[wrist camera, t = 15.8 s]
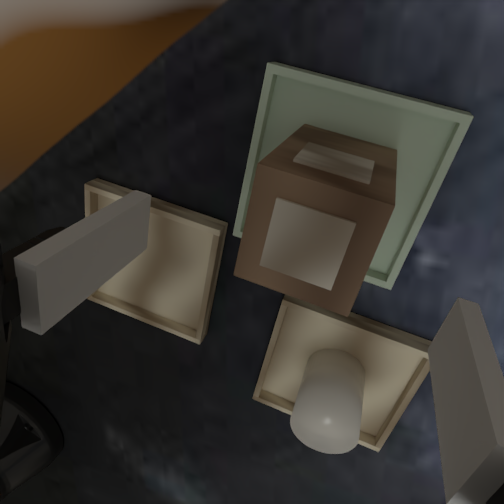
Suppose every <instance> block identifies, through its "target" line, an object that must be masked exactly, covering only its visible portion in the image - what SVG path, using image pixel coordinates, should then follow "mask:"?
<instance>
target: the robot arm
mask: <svg viewBox="0 0 504 504" xmlns="http://www.w3.org/2000/svg"><path fill="white" fill-rule="evenodd" d="M150 204H151V195H150V194H147V193H144V192H141V191H138V190H135V191H133V192H131V193H129V194H127V195H126V196H124V197H122V198H120V199H118V200H117V201H115V202H113V203H111V204H109V205H108V206H106V207H104V208H102V209H100V210H99V211H97V212H95V213H93V214H91V215H90V216H88V217H86V218H84V219H82V220H81V221H79V222H77V223H75V224H73V225H72V226H70V227H68V228H64V227H58V228H54V229H50V230H47V231H45V232H43V233H41V234H39V235H37V236H36V238H35V237H34V238H32V239H30V240H28V241H27V242H24V243H22V244H20V245H18V246H17V247H15V248H13V249H11V250H9V251H7V252H5V253H3V254H2V252H1V245H0V502H1V501H2V500H3V499H4V498H5V497H6V496H7V495H8V494H9V493H11V492H12V491H13V490H15V489H16V488H18V487H19V486H21V485H22V484H23V483H25V482H26V481H28V480H29V479H31V478H32V477H33V476H35V475H36V474H38V473H39V472H40V471H42V470H43V469H45V468H46V467H47V466H49V465H50V464H51V463H52V461H53V460H54V459H55V458H56V457H57V455H58V454H59V453H60V452H61V450H62V448H63V437H62V433H61V431H60V429H59V427H58V425H57V423H56V421H55V420H54V418H53V417H52V416H51V415H50V413H49V412H48V411H47V410H46V409H45V408H44V407H43V406H42V405H41V404H40V403H39V402H38V401H37V400H36V399H35V398H33V397H32V396H31V395H30V394H28V393H27V392H25V391H24V390H22V389H21V388H19V387H17V386H15V385H13V384H11V383H9V382H6V374H7V365H8V357H9V348H10V339H11V330H12V326H11V320H12V319H13V318H15V317H16V316H17V315H19V314H20V315H21V324H22V327H23V328H25V329H28V330H30V331H32V332H35V333H37V334H40V335H42V334H44V333H45V332H46V331H47V330H49V329H50V328H51V327H52V326H53V325H55V324H56V323H57V322H58V321H59V320H61V319H62V318H63V317H64V316H66V315H67V314H68V313H69V312H70V311H72V310H73V309H74V308H75V307H77V306H78V305H79V304H80V303H81V302H83V301H84V300H85V299H86V298H87V297H89V296H90V295H91V294H92V293H94V292H95V291H96V290H97V289H98V288H100V287H101V286H102V285H103V284H104V283H106V282H107V281H108V280H109V279H111V278H112V277H113V276H114V275H115V274H117V273H118V272H119V271H120V270H121V269H123V268H124V267H125V266H126V265H128V264H129V263H130V262H131V261H132V260H134V259H135V258H136V257H137V256H139V255H140V254H141V253H142V252H143V251H145V250H146V249H147V241H148V229H149V216H150ZM428 357H429V365H430V373H431V382H432V390H433V398H434V406H435V415H436V423H437V431H438V439H439V448H440V456H441V464H442V473H443V481H444V489H445V497H446V504H504V377H503V374H502V371H501V368H500V365H499V362H498V359H497V356H496V353H495V350H494V347H493V345H492V342H491V339H490V336H489V333H488V330H487V327H486V324H485V321H484V318H483V315H482V312H481V309H480V306H479V304H477V303H474V302H471V301H468V300H465V299H462V298H459V297H458V298H457V300H456V302H455V303H454V305H453V307H452V308H451V310H450V312H449V314H448V315H447V317H446V319H445V320H444V322H443V324H442V325H441V327H440V329H439V331H438V332H437V334H436V336H435V337H434V339H433V341H432V342H431V344H430V346H429V348H428Z"/></svg>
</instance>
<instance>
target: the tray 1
mask: <svg viewBox="0 0 504 504" xmlns="http://www.w3.org/2000/svg"><path fill="white" fill-rule="evenodd" d="M133 191H134V190H131V189H128V188H125V187H122V186H119V185H116V184H113V183H110V182H107V181H104V180H102V179H99V178H96V179H94V180H92V181H89V182H87V183H85V218H86V217H88V216H90V215H91V214H93V213H95V212H97V211H99V210H100V209H102V208H104V207H106V206H108V205H109V204H111V203H113V202H115V201H117V200H118V199H120V198H122V197H124V196H126V195H127V194H129V193H131V192H133ZM227 226H228V223H227V222H224V221H221V220H218V219H215V218H212V217H210V216H207V215H204V214H201V213H198V212H195V211H192V210H189V209H186V208H183V207H180V206H177V205H174V204H172V203H169V202H166V201H163V200H160V199H157V198H154V197H151V204H150V216H149V229H148V241H147V249H146V250H145V251H143V252H142V253H141V254H140V255H139V256H137V257H136V258H135V259H134V260H132V261H131V262H130V263H129V264H128V265H126V266H125V267H124V268H123V269H121V270H120V271H119V272H118V273H117V274H115V275H114V276H113V277H112V278H111V279H109V280H108V281H107V282H106V283H104V284H103V285H102V286H101V287H100V288H98V289H97V290H96V291H95V292H94V293H92V294H91V295H90V296H89V297H87V299H89V300H91V301H94V302H96V303H99V304H101V305H103V306H106V307H108V308H111V309H113V310H116V311H118V312H121V313H123V314H126V315H128V316H131V317H133V318H135V319H138V320H140V321H143V322H145V323H148V324H150V325H153V326H155V327H158V328H160V329H163V330H165V331H167V332H170V333H172V334H175V335H177V336H180V337H182V338H185V339H187V340H190V341H192V342H195V343H197V344H199V345H200V343H201V342H202V340H203V339H204V337H205V336H206V334H207V331H208V326H209V320H210V315H211V310H212V305H213V299H214V294H215V289H216V284H217V278H218V273H219V268H220V263H221V257H222V252H223V247H224V242H225V236H226V231H227Z"/></svg>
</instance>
